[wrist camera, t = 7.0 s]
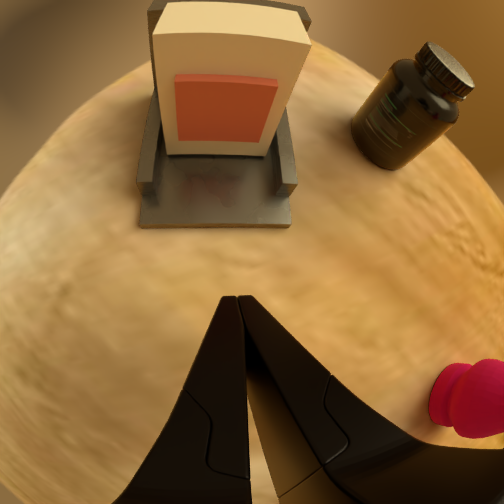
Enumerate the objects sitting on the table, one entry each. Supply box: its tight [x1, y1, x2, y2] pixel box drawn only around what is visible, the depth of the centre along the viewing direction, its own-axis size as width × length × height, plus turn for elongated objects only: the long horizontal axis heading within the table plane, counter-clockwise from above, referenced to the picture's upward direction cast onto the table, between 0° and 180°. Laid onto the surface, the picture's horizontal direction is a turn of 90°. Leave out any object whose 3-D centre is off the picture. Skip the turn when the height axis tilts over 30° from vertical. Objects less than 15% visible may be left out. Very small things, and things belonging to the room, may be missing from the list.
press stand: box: [136, 0, 311, 228], centre depth 15 cm, size 13×10×10 cm
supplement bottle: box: [351, 42, 474, 169], centre depth 17 cm, size 7×7×12 cm
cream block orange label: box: [152, 2, 312, 156], centre depth 14 cm, size 5×7×10 cm, turn 93°
